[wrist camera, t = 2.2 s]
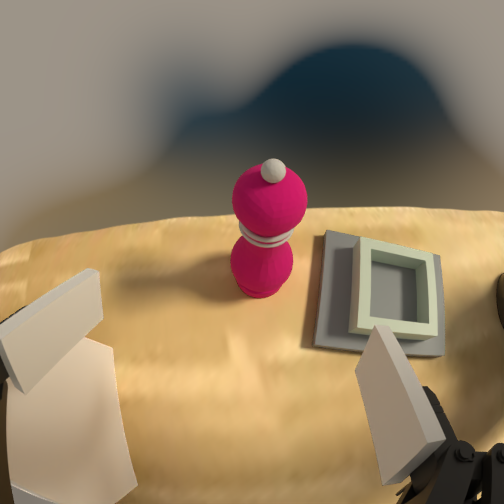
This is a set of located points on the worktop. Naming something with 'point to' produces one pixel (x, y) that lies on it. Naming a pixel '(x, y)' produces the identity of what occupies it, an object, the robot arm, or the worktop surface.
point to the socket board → (379, 295)
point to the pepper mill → (266, 226)
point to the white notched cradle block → (70, 432)
